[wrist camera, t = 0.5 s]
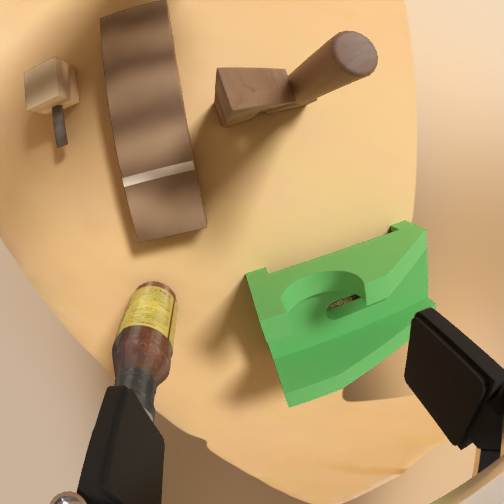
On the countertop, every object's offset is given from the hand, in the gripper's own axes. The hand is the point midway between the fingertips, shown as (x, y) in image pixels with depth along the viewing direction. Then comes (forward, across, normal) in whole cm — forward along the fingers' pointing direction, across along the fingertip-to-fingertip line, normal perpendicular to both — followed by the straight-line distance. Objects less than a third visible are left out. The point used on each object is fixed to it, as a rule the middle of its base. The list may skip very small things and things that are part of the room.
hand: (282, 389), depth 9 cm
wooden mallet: (+29, -7, -12) cm, 32 cm away
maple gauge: (+29, +17, -18) cm, 38 cm away
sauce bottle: (+29, +12, +10) cm, 33 cm away
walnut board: (+29, +6, -13) cm, 33 cm away
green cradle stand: (+30, -13, +14) cm, 35 cm away
